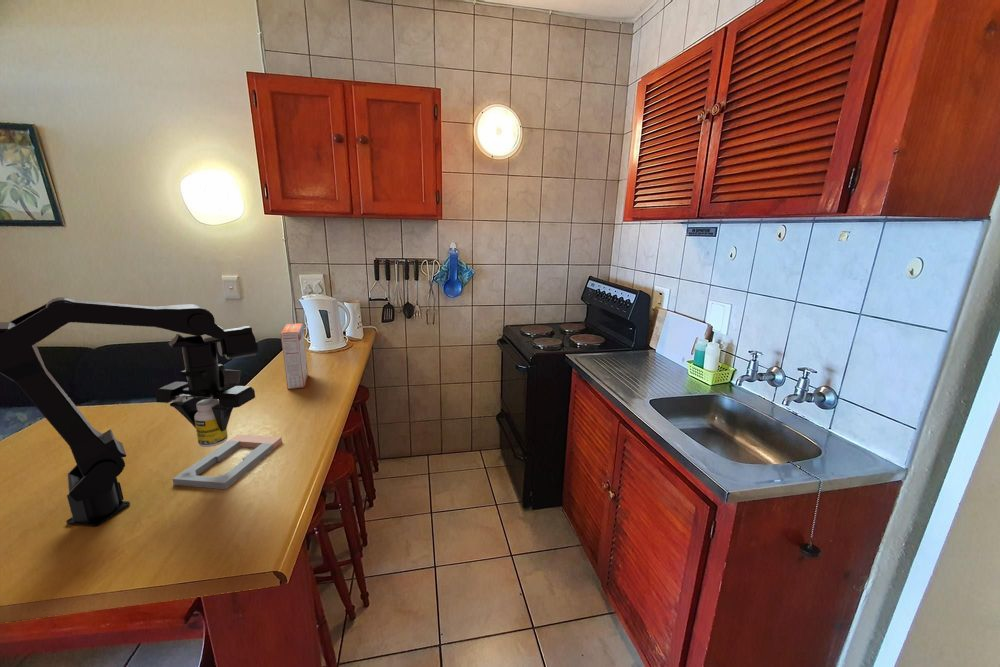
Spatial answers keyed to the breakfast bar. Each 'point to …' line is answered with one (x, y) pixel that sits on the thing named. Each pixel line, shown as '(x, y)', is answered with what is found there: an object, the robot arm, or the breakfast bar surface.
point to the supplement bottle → (208, 424)
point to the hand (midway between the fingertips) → (211, 429)
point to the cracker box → (294, 355)
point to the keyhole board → (223, 481)
